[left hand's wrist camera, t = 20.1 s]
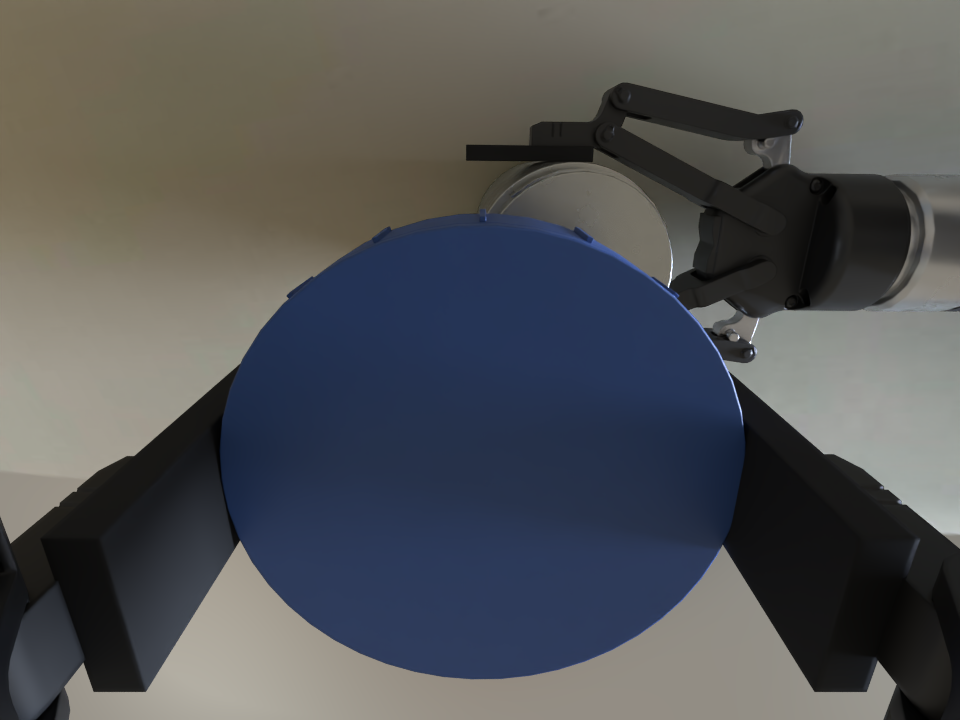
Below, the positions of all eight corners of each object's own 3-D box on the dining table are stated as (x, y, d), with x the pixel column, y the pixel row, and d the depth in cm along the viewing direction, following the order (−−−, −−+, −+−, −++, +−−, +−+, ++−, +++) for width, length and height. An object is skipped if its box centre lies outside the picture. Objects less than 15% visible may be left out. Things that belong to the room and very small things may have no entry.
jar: (623, 244, 37) (717, 300, 22) (519, 311, 39) (542, 404, 24) (559, 133, 35) (616, 114, 20) (451, 210, 36) (430, 244, 22)
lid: (161, 428, 12) (105, 475, 10) (500, 87, 9) (505, 71, 8) (467, 672, 14) (466, 744, 13) (795, 452, 12) (849, 504, 10)
